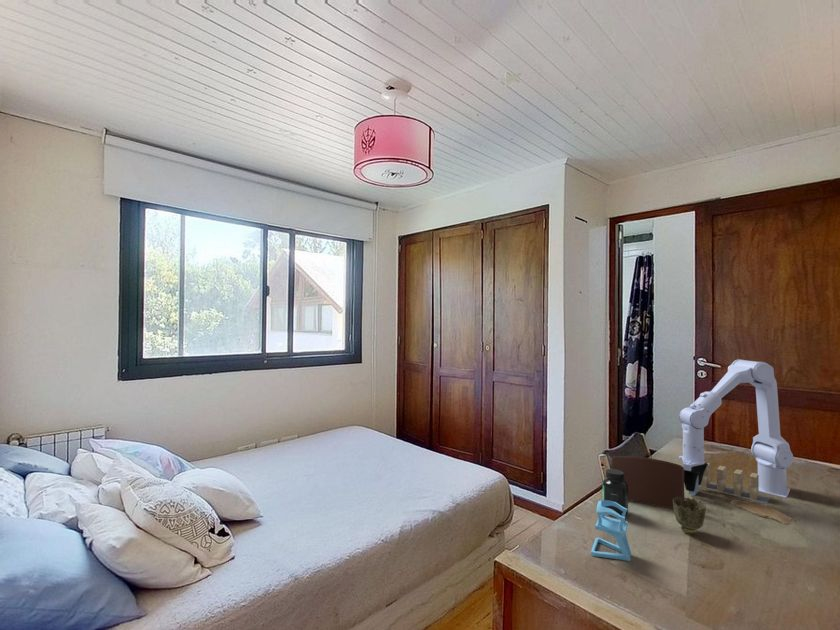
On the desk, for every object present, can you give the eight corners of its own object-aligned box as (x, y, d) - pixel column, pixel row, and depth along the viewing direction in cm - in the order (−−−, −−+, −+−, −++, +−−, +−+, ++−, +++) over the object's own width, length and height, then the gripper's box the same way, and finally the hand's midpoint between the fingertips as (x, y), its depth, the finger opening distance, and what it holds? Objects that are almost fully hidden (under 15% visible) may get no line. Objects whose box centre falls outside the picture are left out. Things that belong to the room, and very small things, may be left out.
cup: (701, 527, 111) (700, 498, 111) (710, 541, 104) (710, 510, 104) (669, 523, 114) (669, 494, 114) (676, 536, 107) (676, 506, 107)
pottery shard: (781, 529, 111) (781, 523, 111) (725, 504, 126) (725, 498, 126) (802, 526, 113) (802, 519, 113) (744, 501, 128) (744, 496, 128)
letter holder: (684, 511, 121) (684, 463, 121) (611, 498, 130) (610, 453, 130) (681, 498, 130) (680, 454, 130) (612, 486, 139) (612, 445, 139)
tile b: (716, 490, 135) (716, 469, 135) (720, 486, 138) (720, 465, 138) (722, 491, 133) (722, 470, 133) (726, 487, 137) (725, 466, 137)
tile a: (700, 486, 138) (700, 465, 138) (704, 482, 141) (704, 462, 141) (706, 487, 137) (706, 466, 137) (709, 483, 140) (709, 463, 140)
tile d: (749, 498, 128) (749, 476, 128) (752, 494, 131) (752, 472, 132) (756, 500, 127) (755, 477, 127) (758, 496, 130) (758, 474, 130)
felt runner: (677, 475, 149) (677, 474, 149) (770, 498, 129) (770, 497, 129) (671, 480, 144) (671, 479, 144) (767, 505, 125) (767, 503, 125)
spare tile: (688, 495, 132) (688, 473, 132) (692, 491, 135) (692, 469, 135) (694, 496, 131) (694, 474, 131) (698, 492, 134) (698, 471, 134)
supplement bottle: (599, 512, 120) (598, 471, 120) (607, 505, 125) (606, 465, 125) (624, 520, 115) (623, 477, 115) (631, 512, 120) (631, 471, 120)
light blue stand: (629, 566, 94) (629, 514, 94) (590, 555, 98) (590, 505, 98) (632, 550, 100) (632, 501, 100) (595, 540, 105) (596, 493, 105)
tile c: (733, 494, 131) (733, 472, 131) (736, 490, 134) (736, 469, 134) (740, 496, 130) (739, 474, 130) (743, 492, 133) (742, 470, 133)
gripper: (685, 438, 141) (685, 478, 141) (672, 447, 131) (672, 489, 131) (710, 443, 136) (710, 484, 136) (698, 452, 126) (698, 496, 126)
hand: (693, 487), depth 133 cm, fingers open, 7 cm apart
